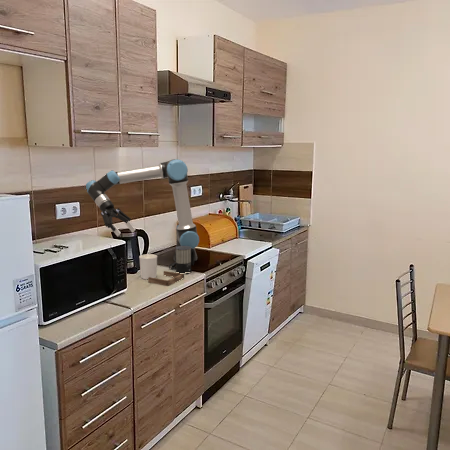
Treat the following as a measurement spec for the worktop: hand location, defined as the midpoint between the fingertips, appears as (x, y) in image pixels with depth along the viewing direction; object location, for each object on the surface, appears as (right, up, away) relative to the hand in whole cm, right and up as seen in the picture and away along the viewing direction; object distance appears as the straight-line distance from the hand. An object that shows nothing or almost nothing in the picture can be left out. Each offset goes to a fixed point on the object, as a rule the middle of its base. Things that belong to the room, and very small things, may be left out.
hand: (126, 233), depth 241 cm
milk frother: (+28, -23, +12) cm, 38 cm away
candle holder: (+13, -25, -2) cm, 28 cm away
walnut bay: (+23, -25, -7) cm, 35 cm away
